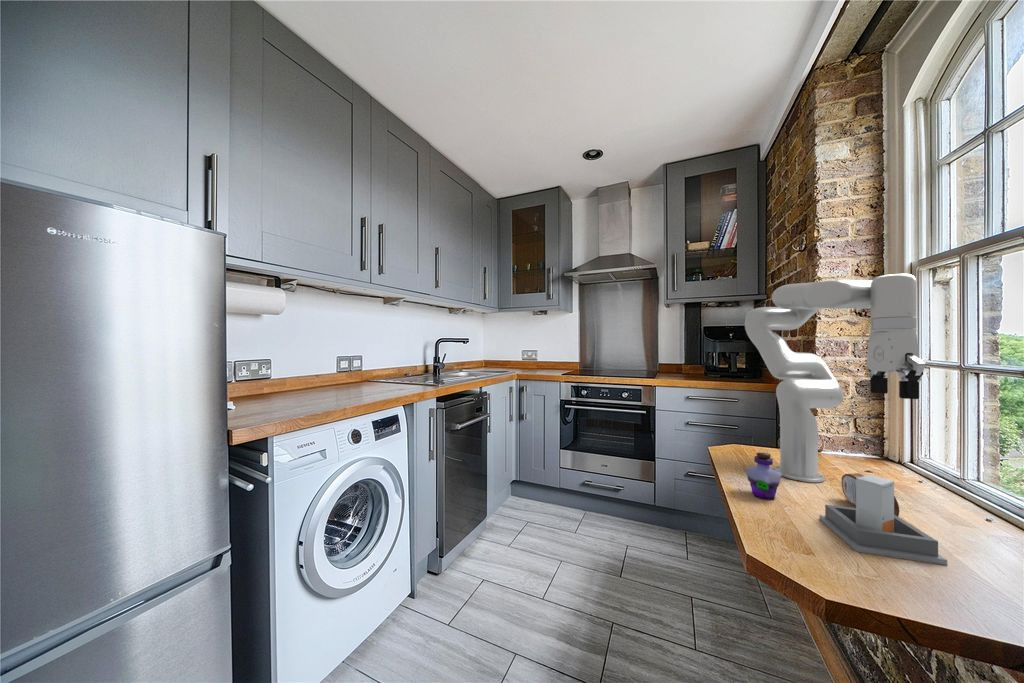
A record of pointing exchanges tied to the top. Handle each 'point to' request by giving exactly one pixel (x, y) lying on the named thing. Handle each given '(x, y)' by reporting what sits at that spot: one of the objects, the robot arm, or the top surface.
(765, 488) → the potion bottle
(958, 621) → the top surface
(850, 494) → the tin
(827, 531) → the top surface
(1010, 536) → the top surface
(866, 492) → the skincare box
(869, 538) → the grey square tray
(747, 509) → the top surface
